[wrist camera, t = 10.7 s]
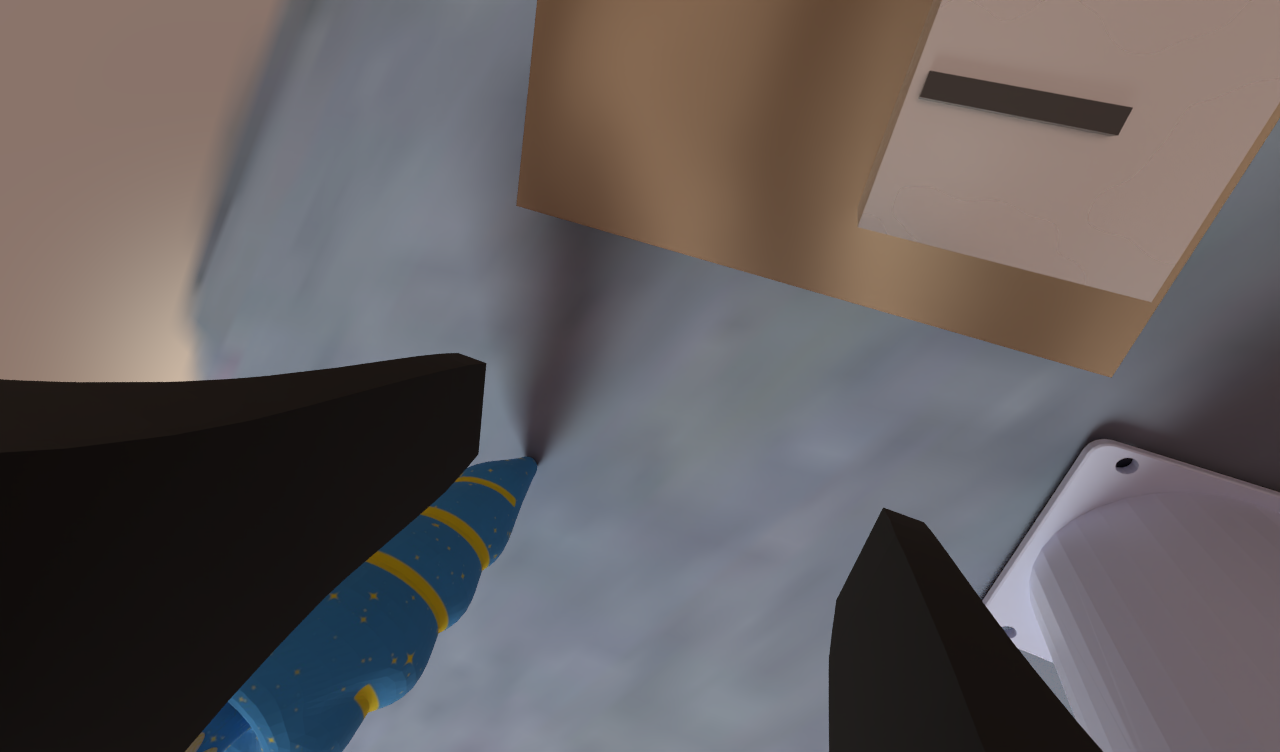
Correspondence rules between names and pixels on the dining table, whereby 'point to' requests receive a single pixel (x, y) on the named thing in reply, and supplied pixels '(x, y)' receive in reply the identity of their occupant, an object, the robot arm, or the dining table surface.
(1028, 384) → the dining table surface
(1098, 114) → the beige cube
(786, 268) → the board
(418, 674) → the ornament
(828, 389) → the dining table surface
